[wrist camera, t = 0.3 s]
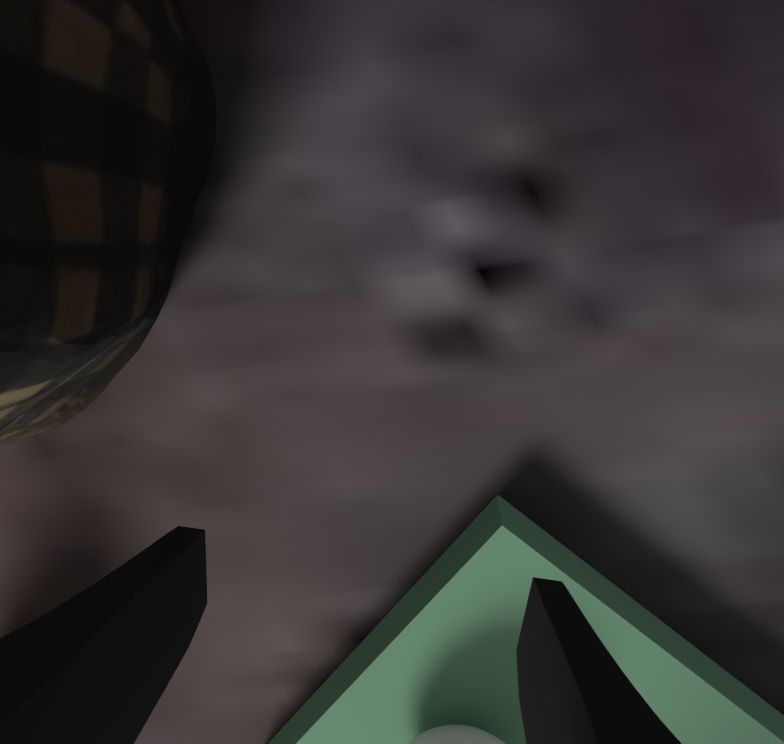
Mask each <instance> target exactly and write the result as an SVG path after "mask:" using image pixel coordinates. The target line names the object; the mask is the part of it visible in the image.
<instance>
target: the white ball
mask: <svg viewBox="0 0 784 744" xmlns="http://www.w3.org/2000/svg"><path fill="white" fill-rule="evenodd" d="M407 744H505V743H504V742H503V741H502V740H500V739H499V738H497V737H496V736H494V735H492V734H490V733H488V732H486V731H484V730H482V729H479V728H476V727H472V726H468V725H459V724H451V725H443V726H438V727H435V728H432V729H429V730H427V731H425V732H422V733H421V734H419V735H417V736H416V737H414V738H413V739H412V740H410V741H409V742H408V743H407Z"/></svg>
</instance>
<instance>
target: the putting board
mask: <svg viewBox="0 0 784 744" xmlns="http://www.w3.org/2000/svg"><path fill="white" fill-rule="evenodd" d="M533 577H535V578H542V579H549V580H556V581H562V582H563V584H564V585H565V586H566V588H567V589H568V591H569V592H570V594H571V596H572V597H573V599H574V600H575V602H576V603H577V605H578V607H579V608H580V610H581V611H582V613H583V614H584V616H585V617H586V619H587V620H588V622H589V623H590V625H591V627H592V628H593V630H594V631H595V633H596V634H597V636H598V637H599V638H600V640H601V641H602V643H603V644H604V646H605V647H606V649H607V650H608V651H609V653H610V654H611V656H612V657H613V658H614V660H615V661H616V663H617V664H618V665H619V667H620V668H621V670H622V671H623V672H624V674H625V675H626V676H627V678H628V679H629V680H630V682H631V683H632V684H633V686H634V687H635V688H636V690H637V691H638V692H639V693H640V695H641V696H642V697H643V699H644V700H645V701H646V702H647V704H648V705H649V706H650V707H651V709H652V710H653V711H654V712H655V714H656V715H657V716H658V717H659V718H660V720H661V721H662V722H663V723H664V724H665V725H666V727H667V728H668V729H669V730H670V731H671V732H672V733H673V734H674V736H675V737H676V738H677V739H678V740H679V741H680V742H681V743H682V744H784V715H783V714H781V713H780V712H779V711H777V710H776V709H775V708H774V707H772V706H771V705H770V704H768V703H767V702H766V701H764V700H763V699H762V698H761V697H759V696H758V695H757V694H755V693H754V692H753V691H752V690H750V689H749V688H748V687H746V686H745V685H744V684H742V683H741V682H740V681H739V680H737V679H736V678H735V677H733V676H732V675H731V674H729V673H728V672H727V671H726V670H724V669H723V668H722V667H720V666H719V665H718V664H717V663H715V662H714V661H713V660H711V659H710V658H709V657H707V656H706V655H705V654H704V653H702V652H701V651H700V650H698V649H697V648H696V647H695V646H693V645H692V644H691V643H689V642H688V641H687V640H685V639H684V638H683V637H682V636H680V635H679V634H678V633H676V632H675V631H674V630H673V629H671V628H670V627H669V626H667V625H666V624H665V623H663V622H662V621H661V620H660V619H658V618H657V617H656V616H654V615H653V614H652V613H651V612H649V611H648V610H647V609H645V608H644V607H643V606H641V605H640V604H639V603H638V602H636V601H635V600H634V599H632V598H631V597H630V596H628V595H627V594H626V593H625V592H623V591H622V590H621V589H619V588H618V587H617V586H616V585H614V584H613V583H612V582H610V581H609V580H608V579H606V578H605V577H604V576H603V575H601V574H600V573H599V572H597V571H596V570H595V569H594V568H592V567H591V566H590V565H588V564H587V563H586V562H584V561H583V560H582V559H581V558H579V557H578V556H577V555H575V554H574V553H573V552H572V551H570V550H569V549H568V548H566V547H565V546H564V545H562V544H561V543H560V542H559V541H557V540H556V539H555V538H553V537H552V536H551V535H550V534H548V533H547V532H546V531H544V530H543V529H542V528H540V527H539V526H538V525H537V524H535V523H534V522H533V521H531V520H530V519H529V518H527V517H526V516H525V515H524V514H522V513H521V512H520V511H518V510H517V509H516V508H515V507H513V506H512V505H511V504H509V503H508V502H507V501H505V500H504V499H503V498H502V497H500V496H499V495H498V494H497V496H496V497H495V498H494V499H493V500H492V501H491V502H490V503H489V504H488V505H487V506H486V507H485V509H484V510H483V511H482V512H481V513H480V514H479V515H478V516H477V517H476V518H475V519H474V520H473V522H472V523H471V524H470V525H469V526H468V527H467V528H466V529H465V530H464V531H463V532H462V533H461V535H460V536H459V537H458V538H457V539H456V540H455V541H454V542H453V543H452V544H451V545H450V546H449V548H448V549H447V550H446V551H445V552H444V553H443V554H442V555H441V556H440V557H439V558H438V559H437V561H436V562H435V563H434V564H433V565H432V566H431V567H430V568H429V569H428V570H427V571H426V572H425V574H424V575H423V576H422V577H421V578H420V579H419V580H418V581H417V582H416V583H415V584H414V585H413V587H412V588H411V589H410V590H409V591H408V592H407V593H406V594H405V595H404V596H403V597H402V598H401V600H400V601H399V602H398V603H397V604H396V605H395V606H394V607H393V608H392V609H391V610H390V611H389V613H388V614H387V615H386V616H385V617H384V618H383V619H382V620H381V621H380V622H379V623H378V624H377V626H376V627H375V628H374V629H373V630H372V631H371V632H370V633H369V634H368V635H367V636H366V637H365V639H364V640H363V641H362V642H361V643H360V644H359V645H358V646H357V647H356V648H355V649H354V650H353V652H352V653H351V654H350V655H349V656H348V657H347V658H346V659H345V660H344V661H343V662H342V663H341V665H340V666H339V667H338V668H337V669H336V670H335V671H334V672H333V673H332V674H331V675H330V676H329V678H328V679H327V680H326V681H325V682H324V683H323V684H322V685H321V686H320V687H319V688H318V689H317V691H316V692H315V693H314V694H313V695H312V696H311V697H310V698H309V699H308V700H307V701H306V702H305V704H304V705H303V706H302V707H301V708H300V709H299V710H298V711H297V712H296V713H295V714H294V715H293V717H292V718H291V719H290V720H289V721H288V722H287V723H286V724H285V725H284V726H283V727H282V728H281V730H280V731H279V732H278V733H277V734H276V735H275V736H274V737H273V738H272V739H271V740H270V741H269V743H268V744H407V743H408V742H409V741H410V740H412V739H413V738H414V737H416V736H417V735H419V734H421V733H422V732H425V731H427V730H429V729H432V728H435V727H438V726H443V725H451V724H459V725H468V726H472V727H476V728H479V729H482V730H484V731H486V732H488V733H490V734H492V735H494V736H496V737H497V738H499V739H500V740H502V741H503V742H504V743H505V744H526V739H525V733H524V727H523V721H522V715H521V708H520V702H519V691H518V675H517V654H516V649H517V645H518V640H519V636H520V631H521V627H522V623H523V618H524V614H525V610H526V605H527V601H528V596H529V592H530V588H531V583H532V579H533Z"/></svg>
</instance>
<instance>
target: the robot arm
mask: <svg viewBox="0 0 784 744" xmlns="http://www.w3.org/2000/svg"><path fill="white" fill-rule="evenodd" d="M206 604H207V579H206V546H205V530H202V529H195V528H188V527H181V526H178V527H176V528H175V529H173V530H172V531H170V532H169V533H167V534H166V535H165V536H163V537H162V538H160V539H159V540H157V541H156V542H155V543H153V544H152V545H150V546H149V547H148V548H146V549H145V550H143V551H142V552H140V553H139V554H138V555H136V556H135V557H133V558H132V559H130V560H129V561H128V562H126V563H125V564H123V565H122V566H120V567H119V568H117V569H116V570H114V571H113V572H111V573H110V574H108V575H107V576H105V577H104V578H103V579H101V580H100V581H98V582H97V583H95V584H93V585H92V586H90V587H89V588H87V589H85V590H84V591H82V592H81V593H79V594H77V595H76V596H74V597H73V598H71V599H69V600H68V601H66V602H64V603H63V604H61V605H60V606H58V607H56V608H55V609H53V610H52V611H50V612H48V613H46V614H45V615H43V616H41V617H40V618H38V619H36V620H34V621H32V622H31V623H29V624H27V625H25V626H23V627H21V628H20V629H18V630H16V631H14V632H12V633H10V634H8V635H6V636H4V637H2V638H1V639H0V744H134V742H135V740H136V739H137V737H138V735H139V733H140V732H141V730H142V728H143V726H144V725H145V723H146V721H147V719H148V718H149V716H150V714H151V713H152V711H153V709H154V707H155V706H156V704H157V702H158V700H159V699H160V697H161V695H162V693H163V692H164V690H165V688H166V686H167V685H168V683H169V681H170V679H171V678H172V676H173V674H174V672H175V670H176V669H177V667H178V665H179V663H180V662H181V660H182V658H183V656H184V654H185V653H186V651H187V649H188V647H189V645H190V643H191V640H192V638H193V636H194V633H195V631H196V629H197V627H198V624H199V622H200V619H201V617H202V614H203V612H204V609H205V607H206ZM516 654H517V675H518V691H519V702H520V708H521V715H522V721H523V727H524V733H525V739H526V744H682V743H681V742H680V741H679V740H678V739H677V738H676V737H675V736H674V734H673V733H672V732H671V731H670V730H669V729H668V728H667V727H666V725H665V724H664V723H663V722H662V721H661V720H660V718H659V717H658V716H657V715H656V714H655V712H654V711H653V710H652V709H651V707H650V706H649V705H648V704H647V702H646V701H645V700H644V699H643V697H642V696H641V695H640V693H639V692H638V691H637V690H636V688H635V687H634V686H633V684H632V683H631V682H630V680H629V679H628V678H627V676H626V675H625V674H624V672H623V671H622V670H621V668H620V667H619V665H618V664H617V663H616V661H615V660H614V658H613V657H612V656H611V654H610V653H609V651H608V650H607V649H606V647H605V646H604V644H603V643H602V641H601V640H600V638H599V637H598V636H597V634H596V633H595V631H594V630H593V628H592V627H591V625H590V623H589V622H588V620H587V619H586V617H585V616H584V614H583V613H582V611H581V610H580V608H579V607H578V605H577V603H576V602H575V600H574V599H573V597H572V596H571V594H570V592H569V591H568V589H567V588H566V586H565V585H564V584H563V582H562V581H556V580H549V579H542V578H535V577H533V579H532V583H531V588H530V592H529V596H528V601H527V605H526V610H525V614H524V618H523V623H522V627H521V631H520V636H519V640H518V645H517V649H516Z"/></svg>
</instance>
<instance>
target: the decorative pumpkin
mask: <svg viewBox="0 0 784 744" xmlns="http://www.w3.org/2000/svg"><path fill="white" fill-rule="evenodd" d="M215 128H216V105H215V93H214V88H213V83H212V78H211V74H210V69H209V66H208V64H207V62H206V60H205V58H204V56H203V54H202V51H201V49H200V47H199V46H198V44H197V43H196V41H195V40H194V38H193V37H192V35H191V34H190V32H189V31H188V29H187V26H186V24H185V21H184V19H183V16H182V14H181V11H180V9H179V6H178V4H177V1H176V0H0V445H3V444H6V443H10V442H13V441H16V440H20V439H23V438H26V437H30V436H33V435H36V434H39V433H42V432H46V431H49V430H51V429H53V428H55V427H57V426H59V425H61V424H63V423H65V422H66V421H68V420H69V419H71V418H72V417H73V416H75V415H76V414H78V413H79V412H80V411H82V410H83V409H84V408H86V407H87V406H88V405H89V404H90V403H91V402H92V401H93V400H94V399H95V398H96V397H97V396H98V395H99V394H100V393H101V392H102V391H103V390H104V389H105V387H106V386H107V385H108V384H109V382H110V381H111V380H112V379H113V377H114V376H115V375H116V374H117V373H118V372H119V371H120V370H121V368H122V367H123V366H124V365H125V364H126V363H127V362H128V361H129V360H130V359H131V358H132V356H133V355H134V354H135V353H136V352H137V351H138V349H139V348H140V346H141V344H142V343H143V341H144V339H145V338H146V336H147V334H148V332H149V331H150V329H151V327H152V326H153V324H154V322H155V320H156V319H157V316H158V314H159V312H160V309H161V307H162V305H163V303H164V300H165V298H166V296H167V293H168V290H169V287H170V283H171V280H172V276H173V273H174V269H175V266H176V262H177V259H178V255H179V252H180V249H181V246H182V243H183V240H184V236H185V233H186V230H187V227H188V224H189V221H190V218H191V215H192V213H193V210H194V207H195V204H196V202H197V199H198V196H199V194H200V191H201V188H202V186H203V183H204V180H205V177H206V174H207V171H208V169H209V166H210V162H211V157H212V151H213V146H214V138H215Z"/></svg>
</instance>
